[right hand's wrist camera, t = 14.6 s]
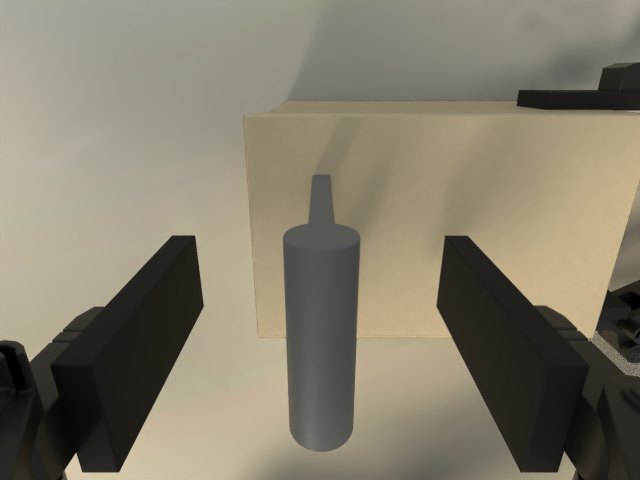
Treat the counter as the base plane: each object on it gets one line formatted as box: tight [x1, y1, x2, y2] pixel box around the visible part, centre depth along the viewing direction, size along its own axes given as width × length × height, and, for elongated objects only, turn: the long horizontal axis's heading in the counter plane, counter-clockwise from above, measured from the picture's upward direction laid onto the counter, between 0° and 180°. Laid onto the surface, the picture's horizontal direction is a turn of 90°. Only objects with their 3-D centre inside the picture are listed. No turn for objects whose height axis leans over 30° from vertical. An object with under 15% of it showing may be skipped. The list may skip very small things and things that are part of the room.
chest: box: [268, 101, 635, 113], centre depth 22 cm, size 15×10×10 cm
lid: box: [243, 113, 640, 452], centre depth 13 cm, size 15×10×9 cm, turn 90°
